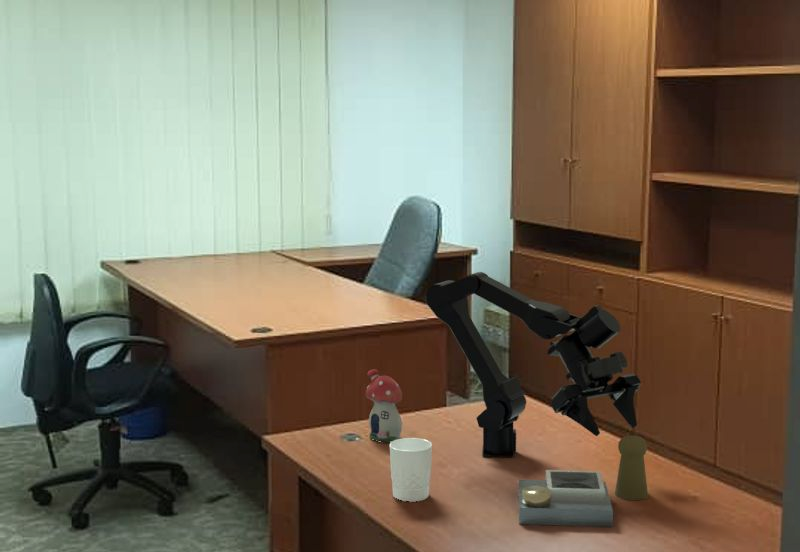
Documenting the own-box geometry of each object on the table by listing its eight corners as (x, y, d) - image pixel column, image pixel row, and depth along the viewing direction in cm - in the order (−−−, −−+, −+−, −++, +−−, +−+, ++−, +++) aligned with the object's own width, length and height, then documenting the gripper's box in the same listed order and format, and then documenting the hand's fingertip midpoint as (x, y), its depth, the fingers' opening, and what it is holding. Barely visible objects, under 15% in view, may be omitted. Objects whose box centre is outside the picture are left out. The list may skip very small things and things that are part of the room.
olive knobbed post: (610, 489, 200) (612, 433, 199) (642, 487, 201) (643, 432, 199) (620, 500, 195) (621, 443, 193) (652, 499, 195) (654, 442, 193)
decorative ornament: (361, 434, 235) (360, 369, 232) (386, 429, 238) (385, 364, 236) (382, 445, 227) (382, 378, 224) (408, 440, 230) (408, 373, 228)
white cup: (437, 490, 200) (437, 440, 199) (424, 505, 193) (424, 453, 191) (398, 486, 203) (397, 436, 201) (384, 500, 196) (383, 448, 194)
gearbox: (519, 524, 184) (519, 496, 183) (518, 494, 198) (518, 469, 197) (612, 527, 183) (613, 499, 182) (605, 497, 196) (605, 471, 196)
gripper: (561, 345, 197) (599, 416, 189) (636, 333, 206) (675, 401, 199) (534, 377, 205) (570, 447, 197) (608, 364, 214) (645, 430, 207)
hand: (616, 430), depth 200 cm, fingers open, 9 cm apart
